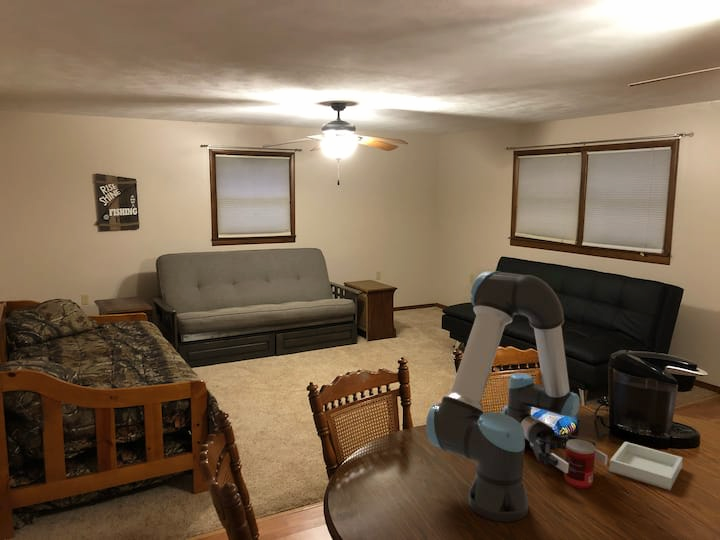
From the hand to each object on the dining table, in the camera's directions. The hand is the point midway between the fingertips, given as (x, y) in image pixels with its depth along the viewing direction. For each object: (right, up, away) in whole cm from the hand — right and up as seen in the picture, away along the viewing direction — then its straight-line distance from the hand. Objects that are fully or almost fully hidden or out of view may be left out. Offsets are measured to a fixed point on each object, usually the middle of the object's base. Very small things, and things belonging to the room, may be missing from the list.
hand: (587, 464), depth 152 cm
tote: (+22, -5, +10) cm, 25 cm away
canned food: (-1, -6, +4) cm, 7 cm away
